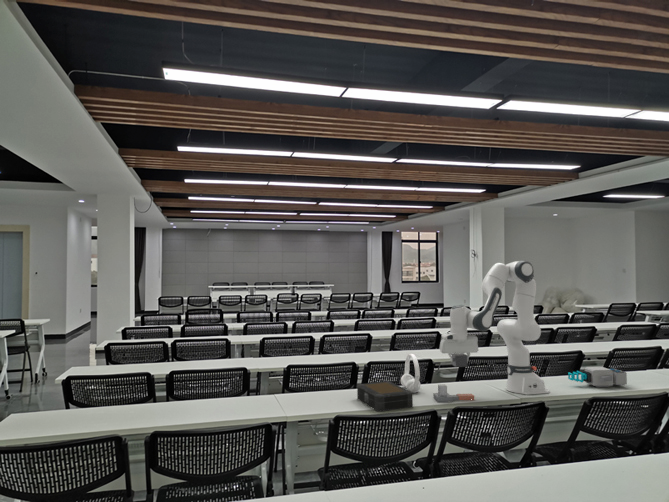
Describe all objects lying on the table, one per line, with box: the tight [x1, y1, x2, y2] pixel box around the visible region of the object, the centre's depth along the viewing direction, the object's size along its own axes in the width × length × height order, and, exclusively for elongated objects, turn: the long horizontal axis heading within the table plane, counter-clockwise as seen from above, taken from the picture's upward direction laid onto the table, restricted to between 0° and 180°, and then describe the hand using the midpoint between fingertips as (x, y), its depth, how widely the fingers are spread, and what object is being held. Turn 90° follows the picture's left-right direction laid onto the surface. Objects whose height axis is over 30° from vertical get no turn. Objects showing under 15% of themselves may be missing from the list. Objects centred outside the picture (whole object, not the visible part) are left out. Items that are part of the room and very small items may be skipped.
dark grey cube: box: [451, 353, 469, 368], centre depth 248 cm, size 6×6×6 cm
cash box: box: [356, 381, 414, 412], centre depth 233 cm, size 25×20×8 cm
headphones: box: [400, 353, 421, 394], centre depth 258 cm, size 20×8×20 cm, turn 9°
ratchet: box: [432, 384, 475, 403], centre depth 238 cm, size 20×8×8 cm, turn 94°
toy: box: [567, 366, 628, 388], centre depth 265 cm, size 16×10×30 cm
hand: (459, 361), depth 248 cm, fingers closed on dark grey cube, 6 cm apart
